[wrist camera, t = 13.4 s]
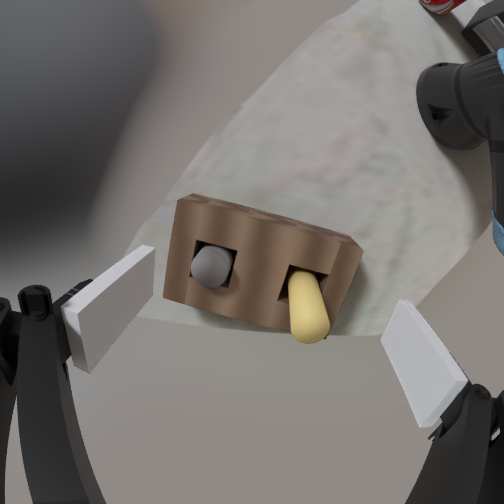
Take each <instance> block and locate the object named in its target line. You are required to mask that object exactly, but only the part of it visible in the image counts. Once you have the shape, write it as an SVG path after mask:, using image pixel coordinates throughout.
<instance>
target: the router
mask: <svg viewBox="0 0 504 504" xmlns="http://www.w3.org/2000/svg"><path fill="white" fill-rule="evenodd" d="M461 33H462V34H463V35H464V36H465V37H466V39H467V40H468V41H469V42H470V43H471V44H472V46H473V47H474V48H475V49H476V50H477V52H478V53H479V54H480V55H481V57H483V56H485V55H488V54H491V53H493V52H496V51H498V50H499V49H501V48H504V0H493V1H491V2H489V3H487V4H486V5H484V6H482V7H480V8H479V9H478V11H477V12H476V14H475V15H474V16H473V18H472V19H471V20H470V22H469V23H468V24H467V26H466V27H465V28H464V30H463V31H462V32H461Z"/></svg>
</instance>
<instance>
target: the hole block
mask: <svg viewBox="0 0 504 504" xmlns="http://www.w3.org/2000/svg"><path fill="white" fill-rule="evenodd" d="M362 254H363V250H362V248H361V247H360V246H359V245H358V244H357V243H356V242H355V241H354V240H353V239H352V238H351V237H350V236H348V235H345V234H341V233H338V232H335V231H331V230H328V229H325V228H321V227H318V226H315V225H311V224H308V223H304V222H301V221H297V220H294V219H290V218H287V217H283V216H279V215H276V214H272V213H268V212H265V211H261V210H257V209H254V208H250V207H246V206H242V205H238V204H234V203H230V202H226V201H222V200H218V199H214V198H210V197H206V196H202V195H198V194H194V193H193V194H191V195H188V196H186V197H184V198H181V199H179V200H178V201H177V206H176V212H175V217H174V223H173V229H172V235H171V241H170V247H169V254H168V261H167V268H166V275H165V283H164V292H163V298H165V299H169V300H172V301H175V302H178V303H182V304H185V305H188V306H192V307H195V308H198V309H202V310H205V311H209V312H212V313H216V314H220V315H223V316H227V317H231V318H235V319H238V320H242V321H246V322H250V323H254V324H258V325H262V326H266V327H271V328H275V329H279V330H284V331H288V332H291V324H290V307H289V292H288V278H287V270H288V267H289V264H290V265H294V266H298V267H301V268H305V269H309V270H313V271H315V275H316V278H317V281H318V284H319V288H320V291H321V294H322V298H323V301H324V305H325V308H326V312H327V315H328V319H329V322H330V329H331V327H332V325H333V323H334V321H335V319H336V316H337V314H338V312H339V310H340V307H341V305H342V303H343V301H344V298H345V296H346V294H347V291H348V289H349V286H350V284H351V282H352V279H353V277H354V274H355V272H356V269H357V267H358V264H359V262H360V259H361V256H362ZM329 331H330V330H329ZM328 334H329V332H328ZM328 334H327V335H326V336H325V338H323V339H326V338H327V336H328Z"/></svg>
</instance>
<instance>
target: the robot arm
mask: <svg viewBox="0 0 504 504" xmlns="http://www.w3.org/2000/svg"><path fill="white" fill-rule="evenodd" d="M416 95H417V103H418V107H419V110H420V113H421V116H422V118H423V120H424V122H425V124H426V126H427V128H428V129H429V130H430V132H431V133H432V134H433V136H434V137H435V138H436V139H437V140H438V141H439V142H441V143H442V144H443V145H445V146H447V147H449V148H451V149H454V150H472V149H475V148H476V147H478V146H479V145H481V144H483V143H485V142H486V141H488V140H489V148H490V158H491V169H492V193H493V205H492V210H491V213H492V217H493V239H494V242H495V244H496V246H497V247H498V249H499V251H500V252H501V253H502V254H503V255H504V48H501V49H499V50H498V51H496V52H493V53H491V54H488V55H485V56H483V57H480V58H477V59H475V60H472V61H470V62H468V63H465V64H456V63H444V62H443V63H437V64H434V65H432V66H430V67H428V68H426V69H425V70H424V71H423V72H422V73H421V75H420V77H419V79H418V82H417V89H416ZM155 249H156V248H154V247H149V246H145V245H141V246H140V247H139V248H137V249H136V250H134V251H133V252H132V253H130V254H129V255H127V256H126V257H125V258H123V259H122V260H120V261H119V262H118V263H116V264H115V265H114V266H112V267H111V268H109V269H108V270H107V271H105V272H104V273H103V274H101V275H100V276H99V277H97V278H96V279H95V280H92V279H88V280H86V281H83V282H80V283H79V284H78V285H76V286H75V287H74V288H73V289H71V290H70V291H68V292H67V293H66V294H64V295H63V296H62V297H60V298H59V299H58V300H57V301H55V302H54V303H53V304H52V299H51V293H50V290H49V289H48V288H47V287H45V286H42V285H31V286H28V287H25V288H23V289H22V290H21V291H20V292H19V294H18V300H19V304H20V309H21V313H20V312H16V311H12V309H11V305H10V301H9V300H8V299H6V298H3V297H0V504H5V467H6V455H7V446H8V438H9V431H10V425H11V420H12V414H13V410H14V405H15V400H16V396H17V409H18V425H19V435H20V443H21V450H22V457H23V463H24V468H25V473H26V478H27V482H28V486H29V490H30V494H31V497H32V501H33V504H106V502H105V500H104V498H103V495H102V493H101V491H100V488H99V486H98V483H97V481H96V478H95V476H94V473H93V470H92V467H91V464H90V461H89V459H88V455H87V452H86V449H85V446H84V442H83V439H82V435H81V431H80V428H79V424H78V420H77V416H76V411H75V407H74V402H73V397H72V392H71V386H70V380H69V374H68V367H67V364H66V360H67V359H68V358H69V357H70V356H71V357H72V360H73V364H74V366H75V367H77V368H79V369H81V370H83V371H85V372H87V373H91V371H92V370H93V369H94V367H95V366H96V365H97V363H98V362H99V361H100V360H101V358H102V357H103V356H104V354H105V353H106V352H107V351H108V349H109V348H110V347H111V345H112V344H113V343H114V342H115V341H116V339H117V338H118V337H119V335H120V334H121V333H122V332H123V330H124V329H125V328H126V327H127V325H128V324H129V323H130V322H131V321H132V319H133V318H134V317H135V316H136V315H137V313H138V312H139V311H140V310H141V309H142V307H143V306H144V305H145V304H146V303H147V301H148V300H149V299H150V298H151V297H152V295H153V282H154V263H155ZM380 341H381V343H382V345H383V347H384V349H385V351H386V353H387V355H388V357H389V359H390V361H391V363H392V366H393V368H394V370H395V372H396V374H397V376H398V379H399V381H400V383H401V385H402V388H403V389H404V392H405V394H406V397H407V399H408V401H409V404H410V406H411V409H412V411H413V413H414V416H415V418H416V421H417V423H418V426H419V428H421V427H430V426H432V425H433V424H434V423H435V422H436V421H437V420H438V418H439V417H440V418H441V419H442V423H441V424H440V425H439V426H438V428H437V429H436V430H435V431H434V432H433V433H432V434H431V435H430V436H429V438H428V439H429V440H430V438H432V437H433V436H435V437H434V439H433V440H432V441H433V443H432V445H431V448H430V451H429V454H428V456H427V458H426V461H425V463H424V465H423V468H422V470H421V472H420V475H419V477H418V479H417V481H416V483H415V485H414V487H413V489H412V491H411V493H410V495H409V497H408V499H407V501H406V503H405V504H504V390H503V391H502V392H501V393H500V395H499V396H498V397H497V398H493V397H491V394H490V392H489V391H488V390H487V389H486V388H485V387H484V386H482V385H480V384H474V385H472V384H471V382H470V380H469V379H468V377H467V376H466V374H465V373H464V372H463V370H462V369H461V368H460V366H459V364H458V363H457V362H456V360H455V359H454V357H453V356H452V354H450V353H449V351H448V350H447V349H446V347H445V346H444V345H443V343H442V342H441V340H440V339H439V338H438V336H437V335H436V334H435V332H434V331H433V330H432V329H431V327H430V326H429V325H428V323H427V322H426V321H425V319H424V318H423V317H422V316H421V315H420V313H419V312H418V311H417V309H416V308H415V307H414V306H413V304H412V303H411V302H410V301H405V300H400V299H399V301H398V303H397V306H396V308H395V310H394V312H393V315H392V317H391V319H390V321H389V323H388V325H387V328H386V330H385V332H384V334H383V336H382V338H381V340H380ZM499 428H500V434H499V435H498V436H497V437H496V438H495V439H494V440H493V441H492V435H493V434H494V433H495V432H496V431H497V430H498V429H499Z"/></svg>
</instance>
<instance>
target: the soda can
mask: <svg viewBox="0 0 504 504" xmlns="http://www.w3.org/2000/svg"><path fill="white" fill-rule="evenodd" d="M419 1H420V2H421V4H422V5H423V6H424V7H425V8H427V9H428V10H429V11H431V12H433V13H436V14H439V15H445V14H447V13H448V12H450V11H451V10H453V9H454V8H456V7H457V6H459V5H460V4H462V3H463V2H465V1H466V0H419Z"/></svg>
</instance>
